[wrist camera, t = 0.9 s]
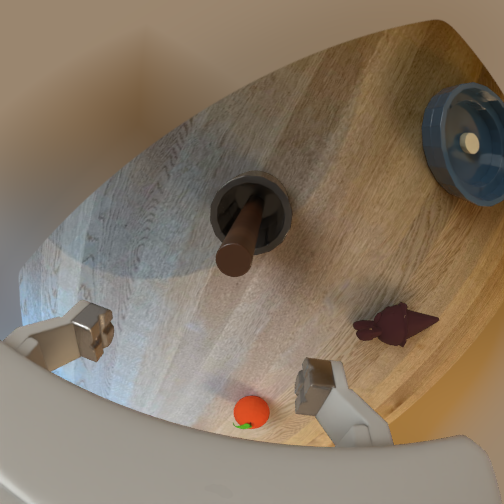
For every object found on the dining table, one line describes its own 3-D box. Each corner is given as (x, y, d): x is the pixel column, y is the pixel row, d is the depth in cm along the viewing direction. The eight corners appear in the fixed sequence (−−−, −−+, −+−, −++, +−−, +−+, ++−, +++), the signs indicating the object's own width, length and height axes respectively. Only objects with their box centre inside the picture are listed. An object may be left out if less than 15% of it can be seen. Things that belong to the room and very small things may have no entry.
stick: (242, 202, 37) (207, 258, 18) (256, 191, 36) (234, 235, 18) (254, 216, 38) (232, 283, 19) (268, 205, 37) (259, 263, 18)
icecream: (449, 303, 33) (358, 314, 37) (444, 347, 34) (356, 360, 37) (432, 292, 40) (351, 301, 43) (429, 332, 41) (351, 342, 44)
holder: (210, 199, 38) (194, 212, 30) (259, 157, 35) (254, 158, 28) (252, 246, 40) (246, 269, 32) (301, 207, 37) (308, 222, 30)
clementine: (245, 414, 53) (242, 440, 46) (225, 397, 51) (219, 423, 45) (277, 402, 51) (276, 429, 44) (256, 384, 49) (253, 412, 43)
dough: (456, 139, 30) (462, 139, 29) (467, 129, 29) (473, 129, 28) (465, 157, 31) (471, 157, 30) (476, 146, 30) (482, 147, 29)
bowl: (398, 121, 32) (417, 118, 26) (463, 72, 27) (485, 65, 21) (453, 219, 35) (474, 230, 30) (509, 162, 30) (531, 167, 25)
